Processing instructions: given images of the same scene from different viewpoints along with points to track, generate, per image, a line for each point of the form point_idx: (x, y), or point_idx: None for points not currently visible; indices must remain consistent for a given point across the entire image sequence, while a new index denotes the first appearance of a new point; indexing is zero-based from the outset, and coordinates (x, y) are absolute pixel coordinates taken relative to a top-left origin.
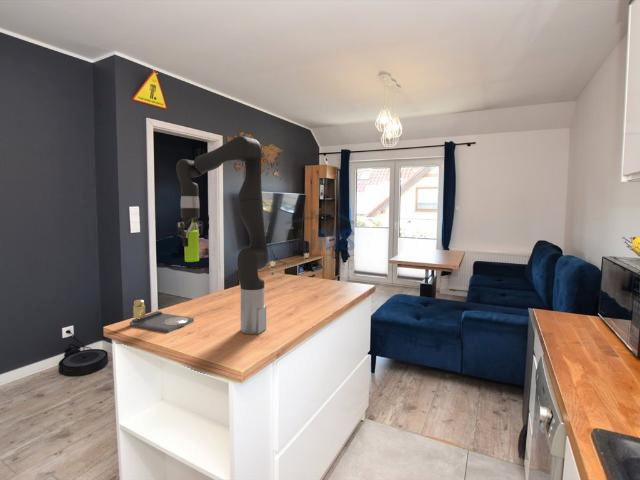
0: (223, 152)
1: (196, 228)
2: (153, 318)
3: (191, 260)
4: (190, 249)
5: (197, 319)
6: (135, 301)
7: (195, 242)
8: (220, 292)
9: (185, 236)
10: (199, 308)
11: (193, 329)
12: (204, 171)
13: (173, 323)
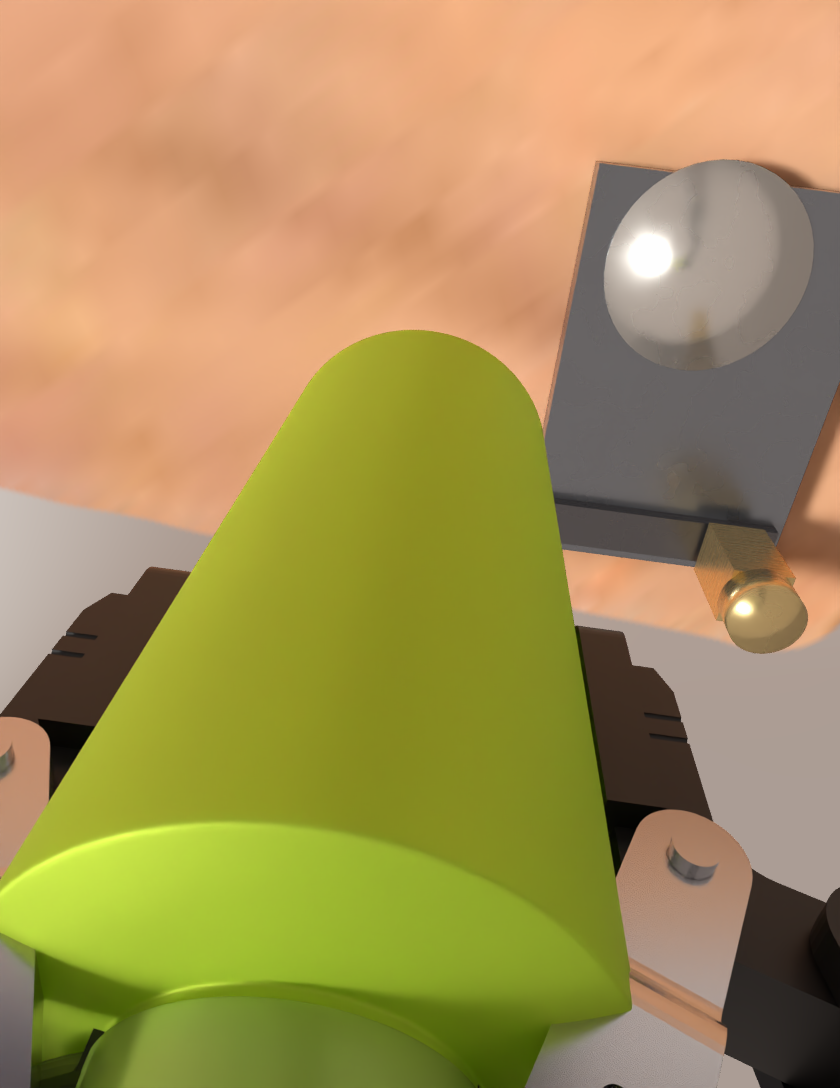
0: None
1: (6, 1081)
2: (667, 477)
3: (530, 407)
4: (550, 524)
5: (532, 164)
6: (793, 632)
7: (453, 525)
8: None
9: (741, 876)
10: (254, 337)
11: (800, 21)
12: None
13: (775, 245)
